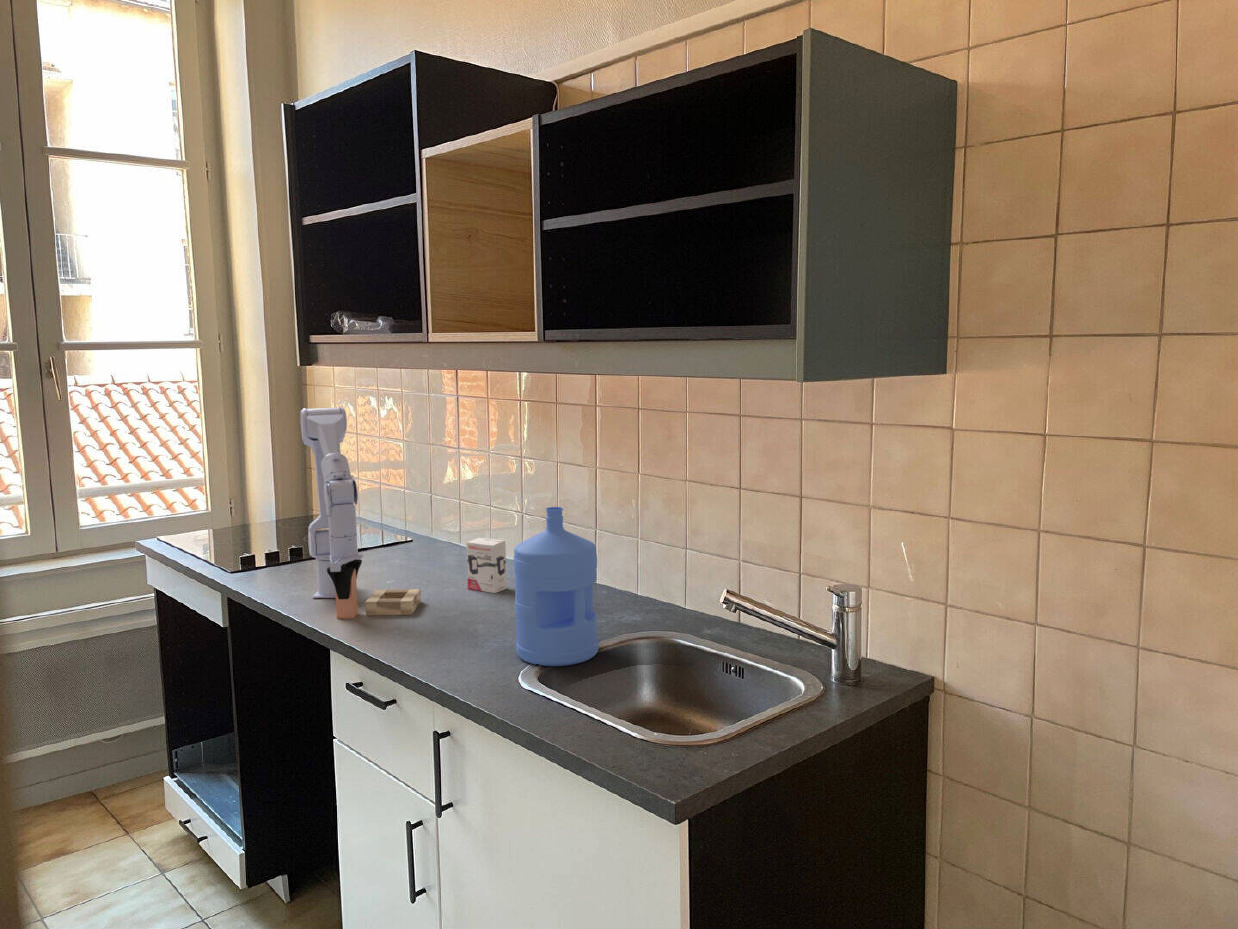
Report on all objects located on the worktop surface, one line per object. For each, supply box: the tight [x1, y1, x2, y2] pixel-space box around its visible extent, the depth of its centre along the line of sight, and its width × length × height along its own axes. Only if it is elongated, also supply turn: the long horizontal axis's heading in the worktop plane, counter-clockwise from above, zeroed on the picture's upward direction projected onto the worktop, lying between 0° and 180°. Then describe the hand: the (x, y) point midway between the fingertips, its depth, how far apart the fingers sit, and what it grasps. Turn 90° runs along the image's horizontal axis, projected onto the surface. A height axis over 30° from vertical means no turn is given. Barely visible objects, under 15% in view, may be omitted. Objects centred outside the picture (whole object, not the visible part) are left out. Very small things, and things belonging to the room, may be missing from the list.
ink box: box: [466, 537, 508, 594], centre depth 221 cm, size 8×5×12 cm, turn 60°
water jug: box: [513, 506, 600, 667], centre depth 174 cm, size 16×16×28 cm
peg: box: [335, 569, 359, 619], centre depth 201 cm, size 4×4×10 cm
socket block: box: [364, 588, 422, 616], centre depth 207 cm, size 10×10×3 cm
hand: (346, 596), depth 201 cm, fingers closed on peg, 4 cm apart
